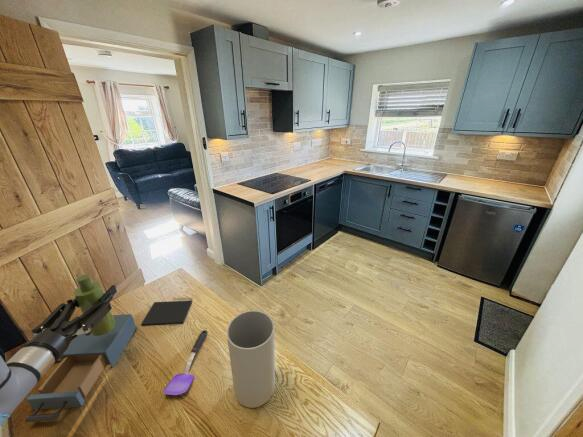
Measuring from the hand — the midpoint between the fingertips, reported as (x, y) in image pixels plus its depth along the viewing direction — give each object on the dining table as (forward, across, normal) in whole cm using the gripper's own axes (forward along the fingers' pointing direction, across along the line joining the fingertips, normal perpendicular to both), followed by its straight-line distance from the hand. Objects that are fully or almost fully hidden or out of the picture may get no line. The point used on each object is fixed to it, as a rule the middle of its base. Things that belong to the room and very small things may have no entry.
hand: (103, 288), depth 76 cm
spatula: (-8, +27, -26) cm, 38 cm away
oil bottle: (-5, 0, -12) cm, 13 cm away
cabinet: (-2, -6, -25) cm, 26 cm away
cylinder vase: (-18, +49, -25) cm, 58 cm away
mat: (+14, +10, -25) cm, 30 cm away
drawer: (-16, -5, -24) cm, 30 cm away
